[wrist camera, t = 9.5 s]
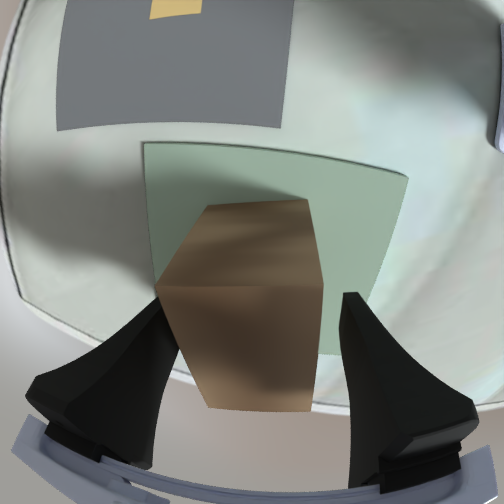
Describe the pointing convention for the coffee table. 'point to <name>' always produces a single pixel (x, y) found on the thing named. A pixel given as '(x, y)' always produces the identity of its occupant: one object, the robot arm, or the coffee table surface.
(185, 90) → the grey flat rectangular plate
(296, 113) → the coffee table surface
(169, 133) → the coffee table surface
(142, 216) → the coffee table surface
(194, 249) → the walnut block
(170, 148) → the mat
